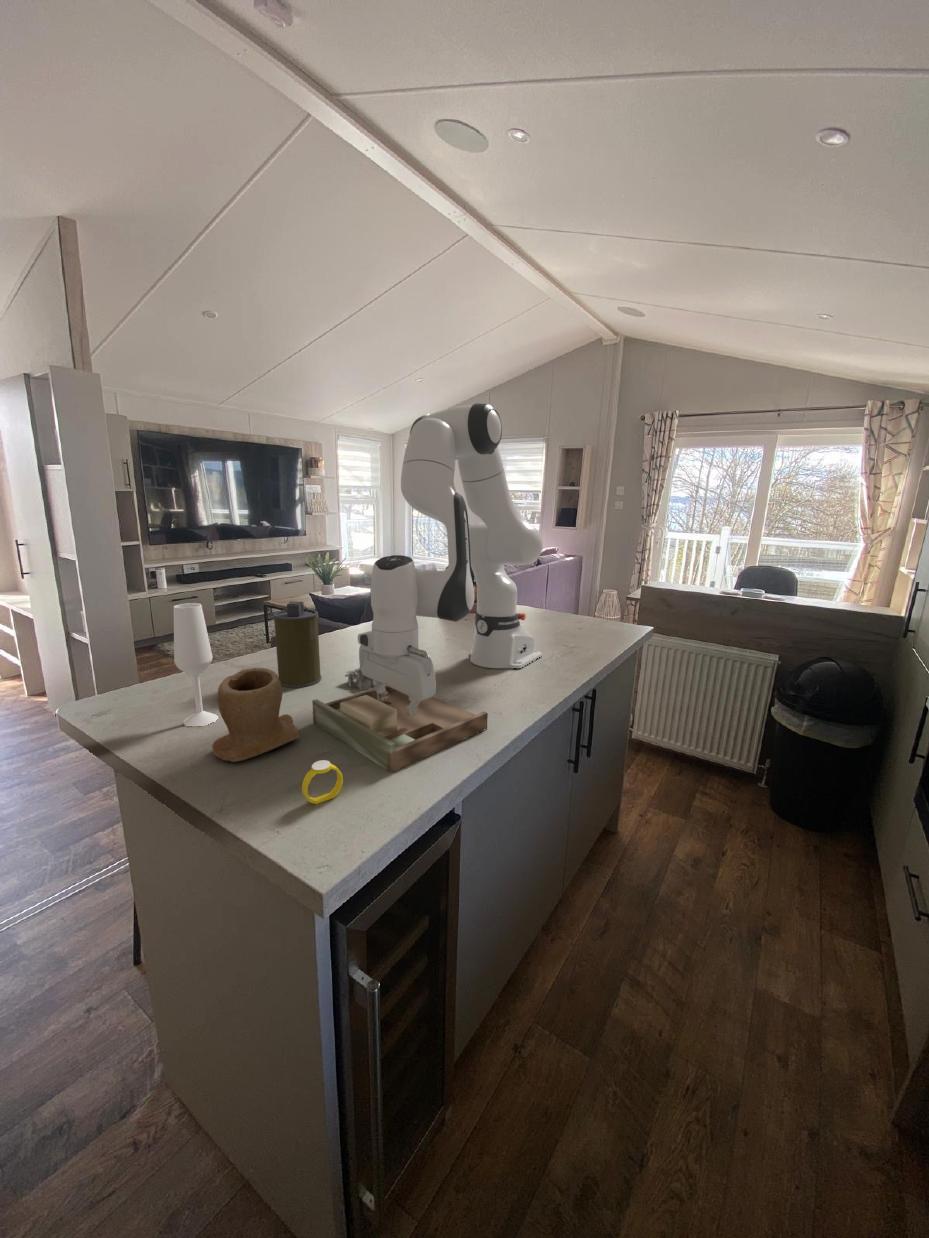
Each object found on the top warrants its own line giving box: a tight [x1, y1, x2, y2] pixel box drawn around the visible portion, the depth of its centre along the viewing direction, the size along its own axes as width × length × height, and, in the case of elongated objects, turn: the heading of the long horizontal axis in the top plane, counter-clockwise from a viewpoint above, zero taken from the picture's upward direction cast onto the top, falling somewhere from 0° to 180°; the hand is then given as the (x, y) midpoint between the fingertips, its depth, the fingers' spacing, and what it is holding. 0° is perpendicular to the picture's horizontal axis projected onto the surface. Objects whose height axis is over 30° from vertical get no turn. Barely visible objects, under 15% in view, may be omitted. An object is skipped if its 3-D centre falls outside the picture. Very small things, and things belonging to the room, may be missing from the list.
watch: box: [301, 759, 344, 805], centre depth 75 cm, size 6×3×6 cm, turn 129°
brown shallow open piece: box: [312, 685, 489, 773], centre depth 100 cm, size 24×26×5 cm
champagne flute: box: [173, 602, 219, 727], centre depth 99 cm, size 7×7×24 cm
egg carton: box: [344, 667, 374, 691], centre depth 125 cm, size 11×8×4 cm
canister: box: [272, 600, 322, 689], centre depth 123 cm, size 11×10×20 cm
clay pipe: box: [211, 667, 300, 763], centre depth 89 cm, size 15×12×15 cm
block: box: [340, 695, 397, 737], centre depth 95 cm, size 6×10×4 cm, turn 45°
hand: (396, 707), depth 99 cm, fingers open, 8 cm apart
